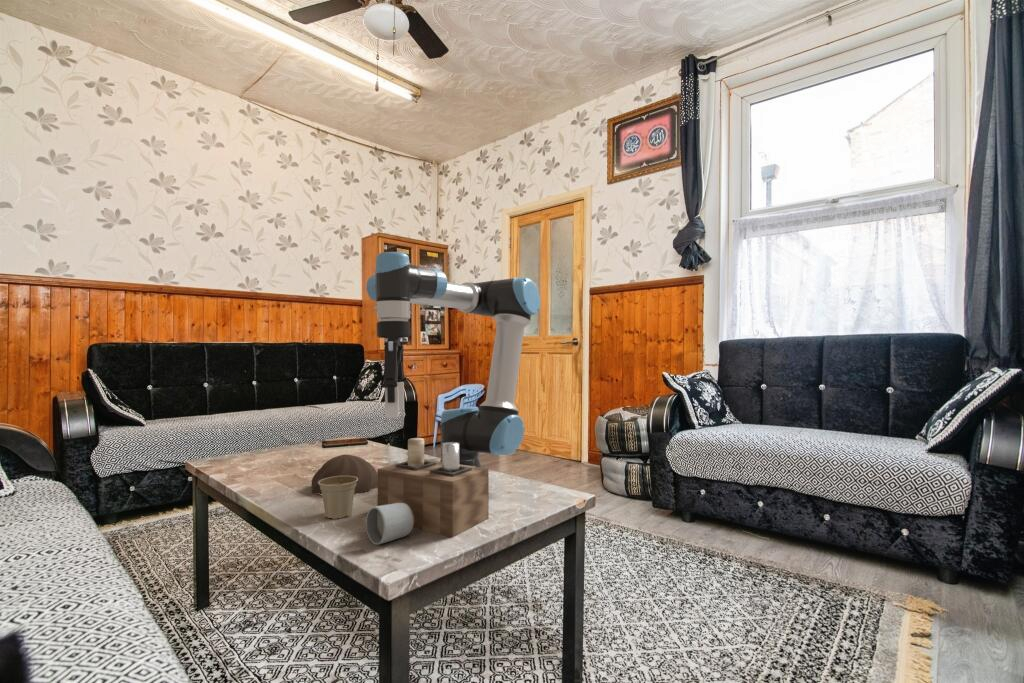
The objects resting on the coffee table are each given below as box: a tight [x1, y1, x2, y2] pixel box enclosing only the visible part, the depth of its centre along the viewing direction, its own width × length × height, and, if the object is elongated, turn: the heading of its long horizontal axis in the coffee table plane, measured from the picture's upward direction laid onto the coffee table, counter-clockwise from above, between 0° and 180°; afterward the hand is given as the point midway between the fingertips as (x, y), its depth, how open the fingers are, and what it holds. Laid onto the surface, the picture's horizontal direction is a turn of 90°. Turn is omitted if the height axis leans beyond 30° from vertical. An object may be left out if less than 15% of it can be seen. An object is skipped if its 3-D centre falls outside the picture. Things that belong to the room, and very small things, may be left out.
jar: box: [459, 455, 475, 467], centre depth 129 cm, size 9×8×12 cm
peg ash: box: [407, 437, 425, 467], centre depth 120 cm, size 4×4×11 cm
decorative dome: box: [311, 454, 378, 495], centre depth 145 cm, size 19×20×10 cm
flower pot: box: [318, 476, 358, 520], centre depth 119 cm, size 9×9×9 cm
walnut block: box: [376, 458, 490, 538], centre depth 117 cm, size 14×23×13 cm, turn 59°
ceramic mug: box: [365, 503, 414, 546], centre depth 105 cm, size 11×8×8 cm
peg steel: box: [442, 442, 459, 473], centre depth 114 cm, size 4×4×11 cm
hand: (395, 413), depth 110 cm, fingers open, 13 cm apart
